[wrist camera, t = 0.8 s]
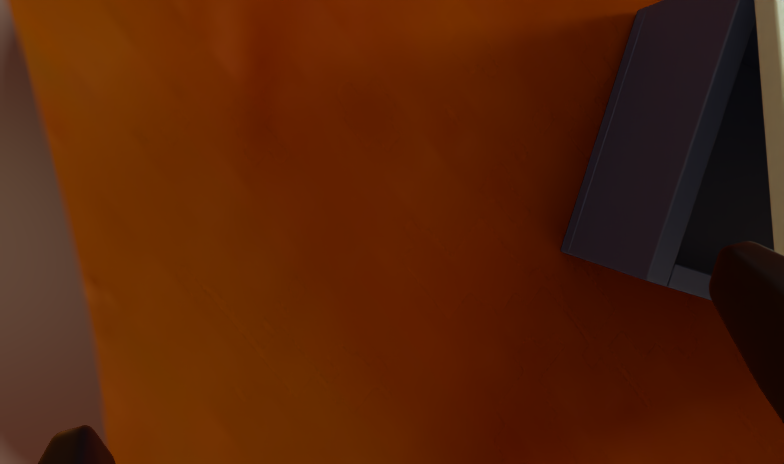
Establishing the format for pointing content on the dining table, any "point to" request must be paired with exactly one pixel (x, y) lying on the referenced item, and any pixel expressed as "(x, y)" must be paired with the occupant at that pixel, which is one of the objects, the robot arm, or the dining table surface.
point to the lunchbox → (678, 149)
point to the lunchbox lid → (773, 105)
